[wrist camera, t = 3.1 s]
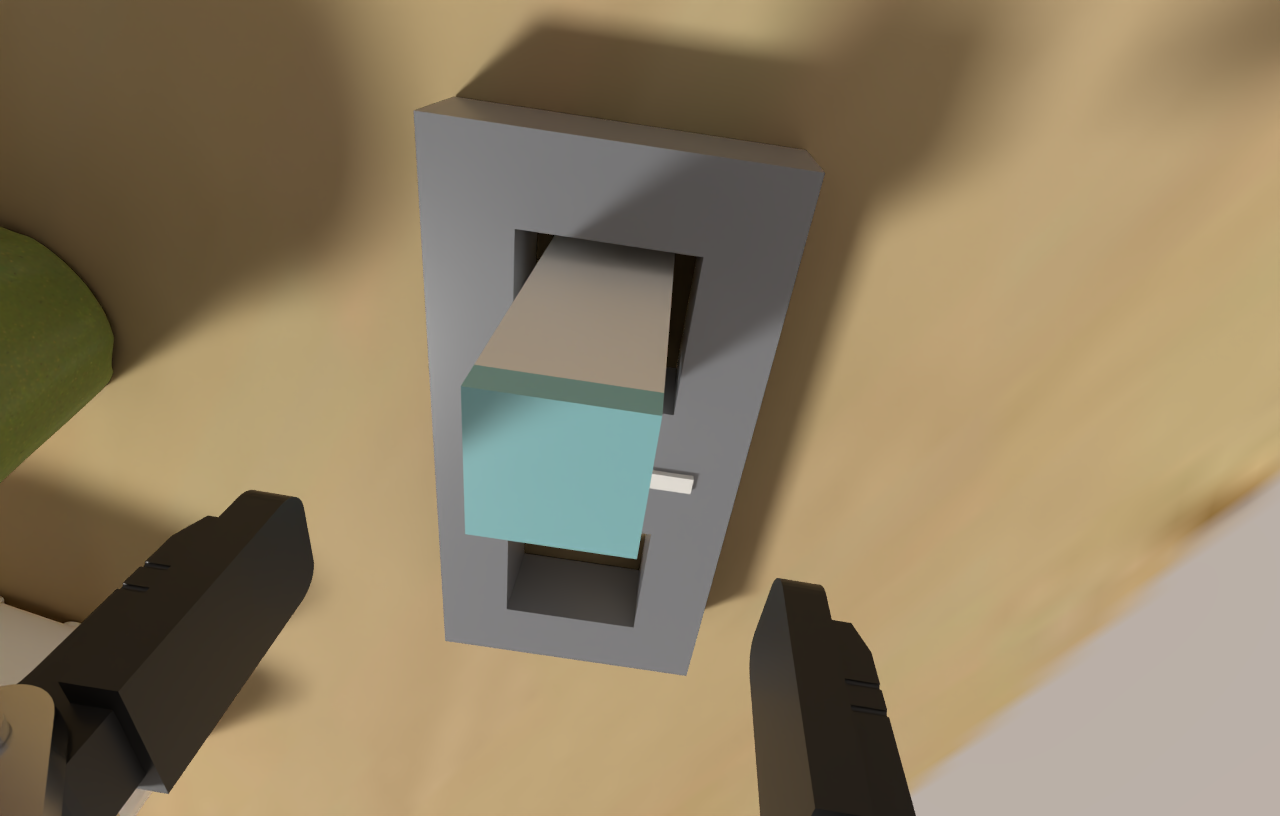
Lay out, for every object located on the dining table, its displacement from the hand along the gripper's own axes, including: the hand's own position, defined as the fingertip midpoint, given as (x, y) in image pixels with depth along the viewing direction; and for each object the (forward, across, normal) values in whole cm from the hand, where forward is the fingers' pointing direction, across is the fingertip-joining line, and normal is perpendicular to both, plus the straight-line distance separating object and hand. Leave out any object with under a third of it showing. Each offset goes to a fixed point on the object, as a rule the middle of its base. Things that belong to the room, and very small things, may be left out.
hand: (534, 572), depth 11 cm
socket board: (+12, 0, +4) cm, 13 cm away
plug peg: (+12, 0, -1) cm, 12 cm away
